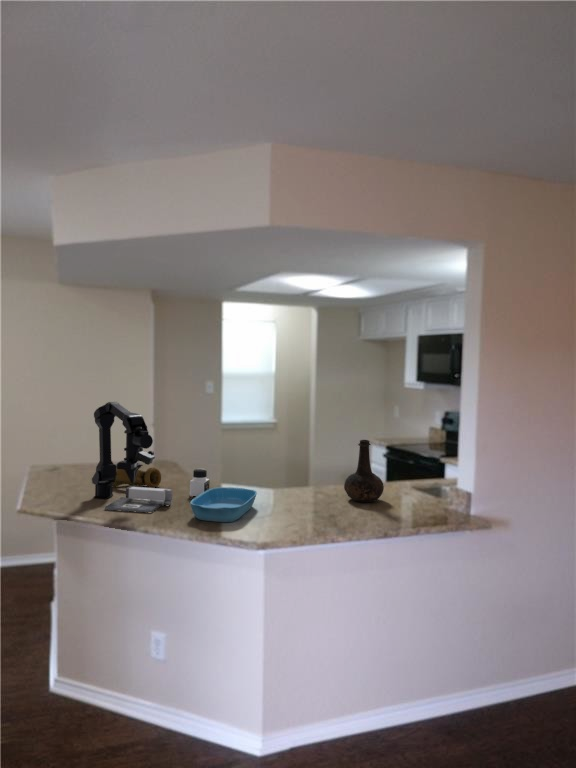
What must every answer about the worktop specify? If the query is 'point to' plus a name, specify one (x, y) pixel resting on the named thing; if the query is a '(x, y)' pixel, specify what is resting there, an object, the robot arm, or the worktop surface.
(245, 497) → the casserole dish
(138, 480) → the brown looped sculpture
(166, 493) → the swing arm
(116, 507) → the label board
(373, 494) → the glass bottle
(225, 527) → the worktop surface
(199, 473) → the medicine bottle
